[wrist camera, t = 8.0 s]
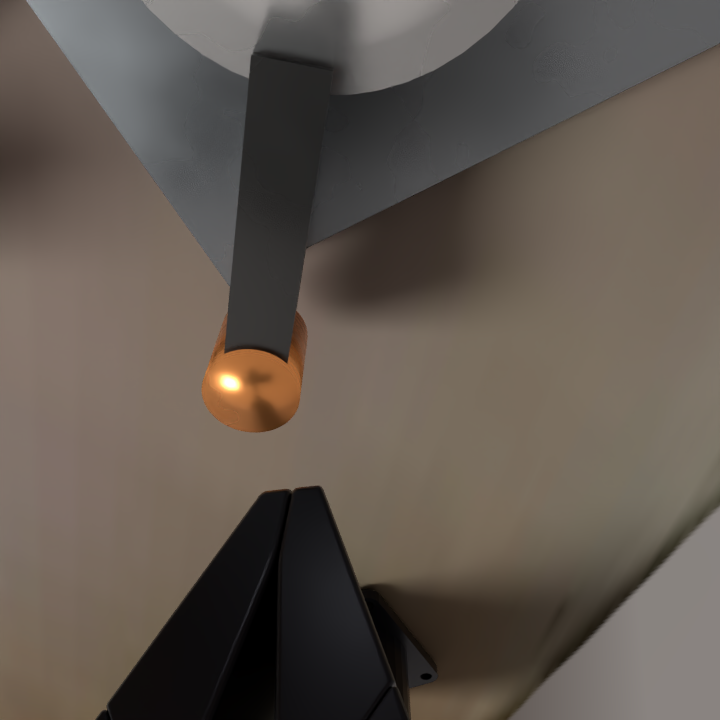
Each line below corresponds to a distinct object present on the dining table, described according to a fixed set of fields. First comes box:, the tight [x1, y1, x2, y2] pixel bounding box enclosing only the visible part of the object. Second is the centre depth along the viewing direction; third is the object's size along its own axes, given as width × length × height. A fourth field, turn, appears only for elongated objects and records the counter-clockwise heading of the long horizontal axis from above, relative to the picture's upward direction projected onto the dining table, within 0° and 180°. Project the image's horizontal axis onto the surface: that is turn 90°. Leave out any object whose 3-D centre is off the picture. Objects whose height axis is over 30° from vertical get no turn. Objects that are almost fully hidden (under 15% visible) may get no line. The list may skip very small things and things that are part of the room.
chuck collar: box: [142, 0, 519, 432], centre depth 11 cm, size 16×8×6 cm, turn 169°
